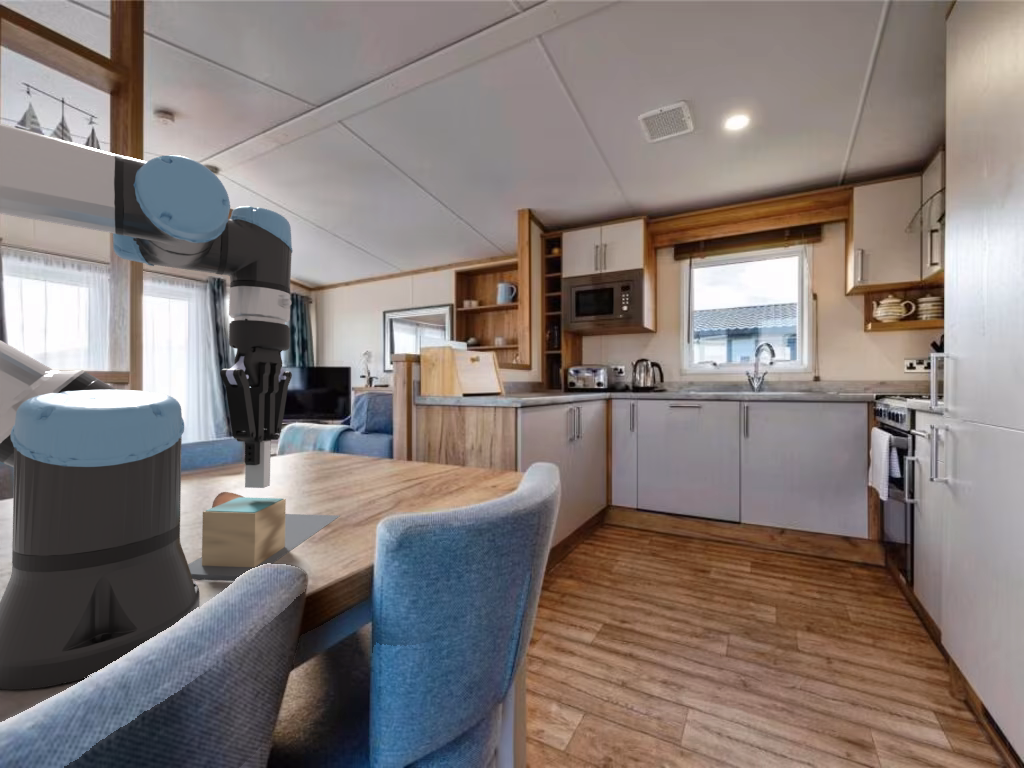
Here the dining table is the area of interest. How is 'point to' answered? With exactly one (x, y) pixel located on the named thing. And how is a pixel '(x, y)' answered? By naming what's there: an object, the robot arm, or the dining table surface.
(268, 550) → the maple cube
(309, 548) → the dining table surface
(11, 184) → the robot arm
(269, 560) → the mat
